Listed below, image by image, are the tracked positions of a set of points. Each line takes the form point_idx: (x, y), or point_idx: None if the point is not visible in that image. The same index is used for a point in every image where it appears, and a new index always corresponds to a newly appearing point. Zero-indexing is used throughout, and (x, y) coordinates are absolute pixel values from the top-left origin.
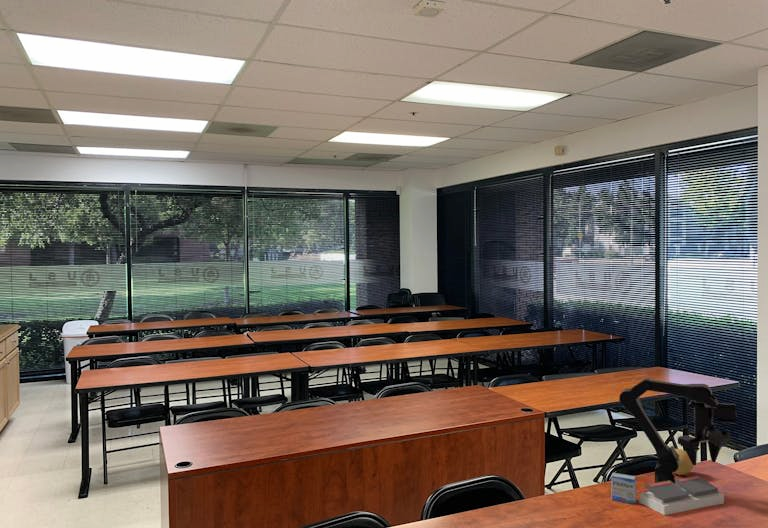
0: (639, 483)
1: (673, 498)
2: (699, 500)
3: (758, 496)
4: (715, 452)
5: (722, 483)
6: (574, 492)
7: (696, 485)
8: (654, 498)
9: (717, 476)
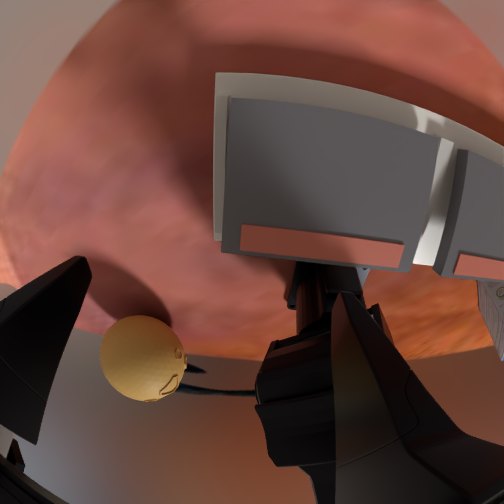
0: None
1: None
2: (413, 105)
3: (43, 101)
4: (22, 321)
5: (73, 228)
6: (491, 340)
7: (355, 177)
8: None
9: None
